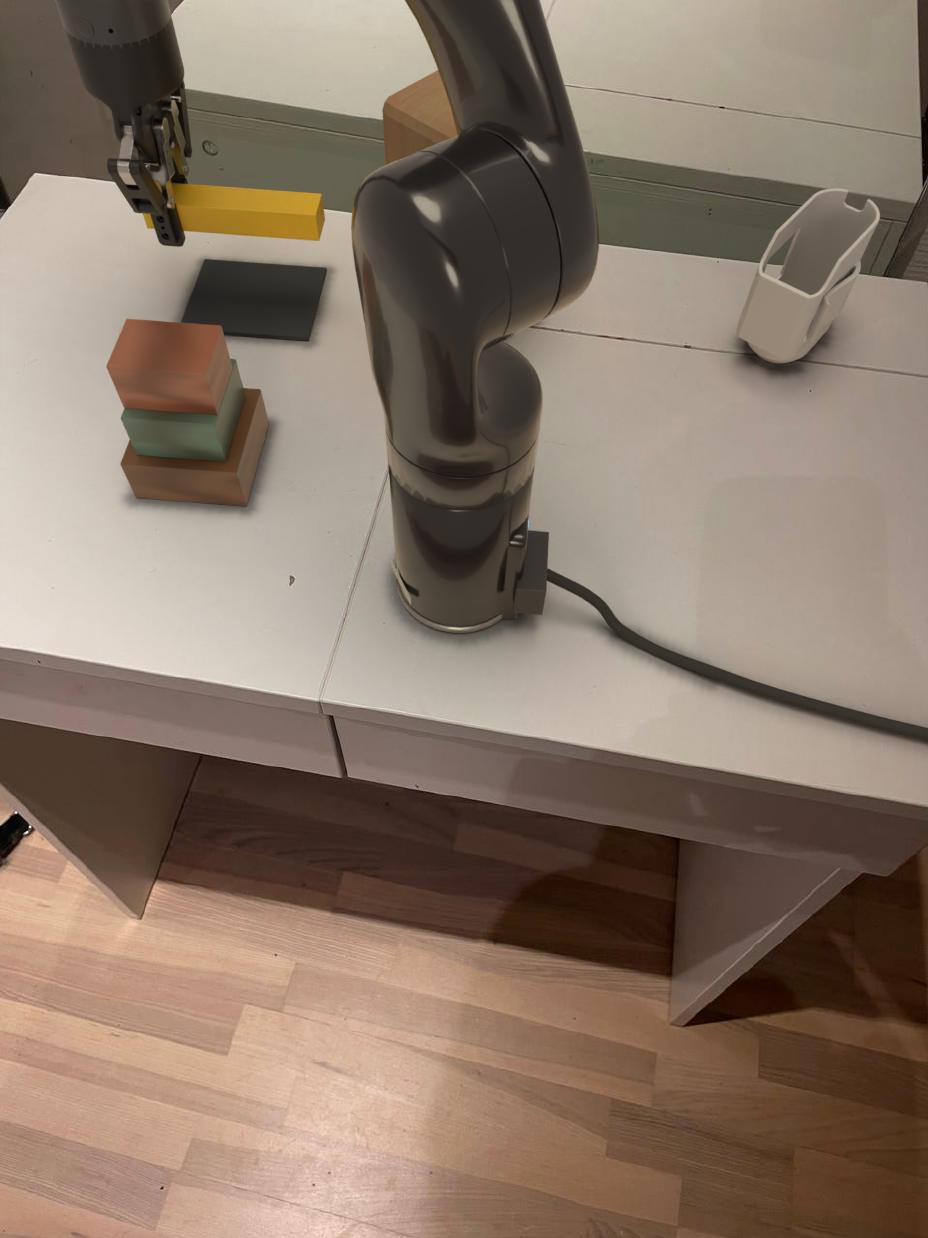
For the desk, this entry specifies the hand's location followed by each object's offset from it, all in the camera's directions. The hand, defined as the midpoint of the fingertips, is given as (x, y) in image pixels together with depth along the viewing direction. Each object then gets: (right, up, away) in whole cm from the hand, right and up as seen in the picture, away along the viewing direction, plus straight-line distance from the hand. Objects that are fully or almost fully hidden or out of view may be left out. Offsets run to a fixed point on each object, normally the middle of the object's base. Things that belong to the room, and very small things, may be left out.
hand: (178, 229), depth 77 cm
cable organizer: (+54, -9, +4) cm, 55 cm away
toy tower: (+4, -21, -5) cm, 22 cm away
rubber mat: (+5, -4, +6) cm, 9 cm away
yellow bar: (+5, 0, -1) cm, 5 cm away
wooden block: (+25, -6, +5) cm, 27 cm away
